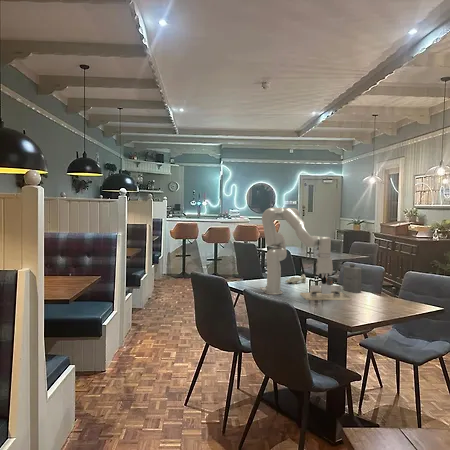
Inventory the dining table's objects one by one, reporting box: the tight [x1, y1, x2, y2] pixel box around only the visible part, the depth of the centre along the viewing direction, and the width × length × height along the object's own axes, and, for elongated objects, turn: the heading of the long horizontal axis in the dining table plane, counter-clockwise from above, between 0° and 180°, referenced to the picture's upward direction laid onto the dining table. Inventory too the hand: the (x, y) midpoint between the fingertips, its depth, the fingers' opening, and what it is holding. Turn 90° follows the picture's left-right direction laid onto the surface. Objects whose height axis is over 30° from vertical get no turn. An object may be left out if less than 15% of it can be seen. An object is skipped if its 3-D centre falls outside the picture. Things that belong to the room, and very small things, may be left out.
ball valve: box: [299, 281, 352, 301], centre depth 289 cm, size 30×16×12 cm, turn 93°
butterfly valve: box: [285, 257, 307, 285], centre depth 341 cm, size 9×20×17 cm
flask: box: [342, 263, 363, 294], centre depth 312 cm, size 15×6×20 cm, turn 32°
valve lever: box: [326, 277, 334, 286], centre depth 284 cm, size 14×3×4 cm, turn 3°
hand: (323, 283), depth 279 cm, fingers closed
